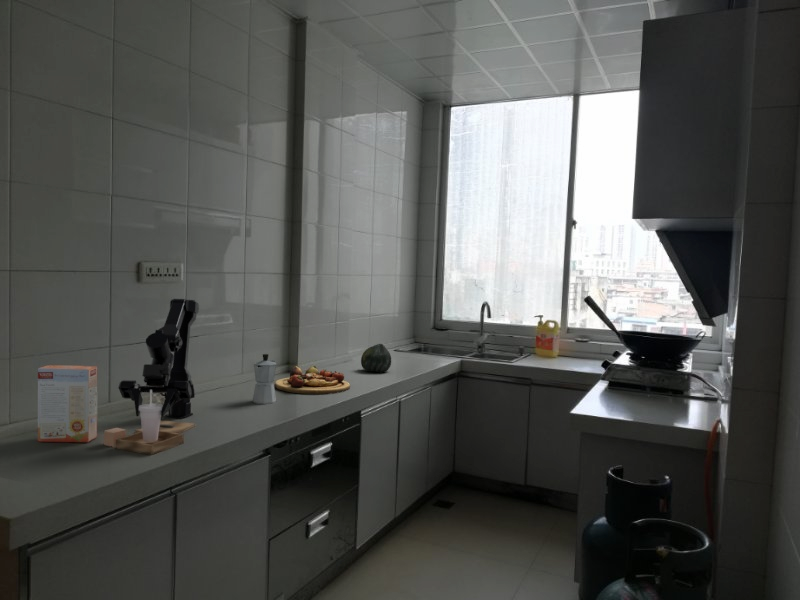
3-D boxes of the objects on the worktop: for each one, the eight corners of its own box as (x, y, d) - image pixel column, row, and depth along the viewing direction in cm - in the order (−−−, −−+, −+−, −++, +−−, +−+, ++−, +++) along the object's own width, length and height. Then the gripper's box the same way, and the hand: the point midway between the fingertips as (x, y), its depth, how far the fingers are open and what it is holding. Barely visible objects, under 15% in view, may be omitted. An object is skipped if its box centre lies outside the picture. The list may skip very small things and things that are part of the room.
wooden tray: (115, 448, 165) (115, 439, 165) (149, 437, 177) (149, 428, 177) (151, 455, 161) (151, 445, 161) (183, 443, 172) (183, 434, 172)
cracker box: (97, 437, 175) (98, 365, 174) (87, 443, 169) (88, 368, 168) (48, 436, 175) (48, 363, 173) (36, 442, 169) (36, 367, 167)
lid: (135, 432, 181) (135, 428, 181) (159, 422, 193) (159, 418, 193) (173, 436, 178) (173, 431, 178) (195, 426, 191) (195, 421, 191)
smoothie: (161, 435, 173) (162, 387, 172) (163, 441, 168) (164, 391, 167) (137, 437, 170) (137, 388, 170) (138, 444, 165) (139, 393, 164)
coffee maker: (268, 406, 221) (269, 357, 220) (245, 404, 223) (247, 355, 222) (284, 397, 236) (285, 351, 235) (263, 396, 237) (264, 350, 236)
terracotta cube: (116, 427, 172) (116, 441, 172) (103, 430, 168) (103, 444, 169) (126, 429, 170) (126, 443, 170) (113, 432, 166) (113, 447, 167)
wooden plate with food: (311, 399, 237) (312, 378, 236) (258, 386, 256) (259, 366, 256) (365, 389, 262) (366, 370, 262) (313, 378, 282) (314, 361, 281)
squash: (357, 357, 310) (363, 338, 300) (385, 358, 314) (392, 339, 305) (361, 380, 300) (367, 360, 290) (390, 380, 305) (397, 361, 295)
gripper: (121, 351, 170) (106, 399, 160) (189, 353, 173) (180, 400, 162) (129, 374, 179) (116, 421, 168) (195, 375, 181) (186, 421, 171)
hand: (149, 415), depth 167 cm, fingers closed on smoothie, 6 cm apart
